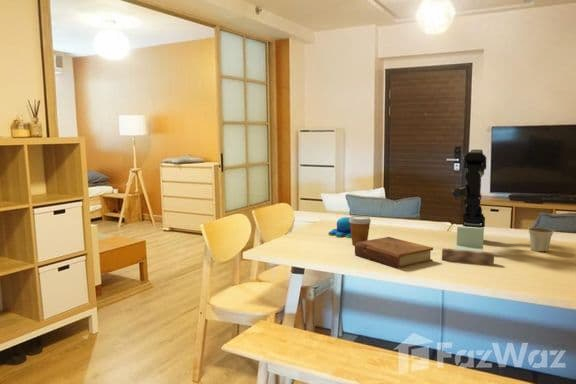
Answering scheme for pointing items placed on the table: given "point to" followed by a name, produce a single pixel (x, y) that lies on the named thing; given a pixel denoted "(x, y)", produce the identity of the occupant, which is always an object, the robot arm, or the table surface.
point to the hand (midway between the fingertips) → (472, 218)
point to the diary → (393, 252)
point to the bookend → (470, 238)
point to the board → (468, 256)
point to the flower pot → (540, 238)
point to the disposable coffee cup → (359, 228)
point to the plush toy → (342, 228)
